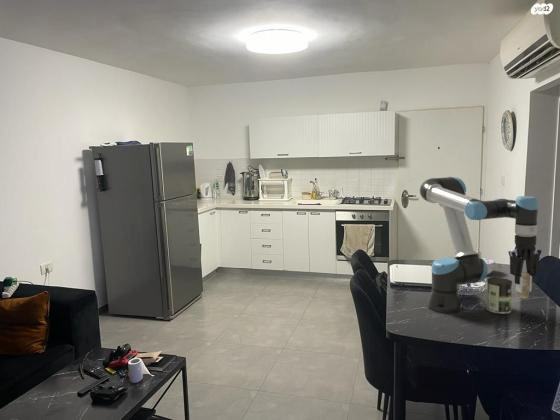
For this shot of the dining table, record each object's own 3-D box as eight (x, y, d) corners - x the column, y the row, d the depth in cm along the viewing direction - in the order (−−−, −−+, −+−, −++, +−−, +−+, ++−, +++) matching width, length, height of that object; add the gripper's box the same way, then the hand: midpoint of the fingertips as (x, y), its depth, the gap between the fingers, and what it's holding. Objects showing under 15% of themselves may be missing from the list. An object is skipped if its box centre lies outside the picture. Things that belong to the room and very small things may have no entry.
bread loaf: (523, 299, 166) (523, 275, 165) (515, 296, 170) (515, 272, 169) (531, 297, 167) (531, 274, 166) (522, 295, 171) (523, 271, 170)
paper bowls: (462, 270, 258) (462, 258, 257) (485, 268, 260) (485, 256, 259) (476, 277, 243) (476, 264, 242) (500, 275, 245) (500, 262, 244)
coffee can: (511, 307, 194) (512, 278, 192) (510, 315, 185) (511, 285, 183) (487, 304, 199) (488, 276, 197) (485, 311, 191) (485, 282, 189)
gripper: (514, 238, 160) (512, 295, 163) (551, 235, 163) (548, 292, 166) (500, 234, 167) (498, 290, 170) (536, 231, 170) (534, 286, 173)
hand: (523, 290), depth 168 cm, fingers closed on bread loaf, 3 cm apart
